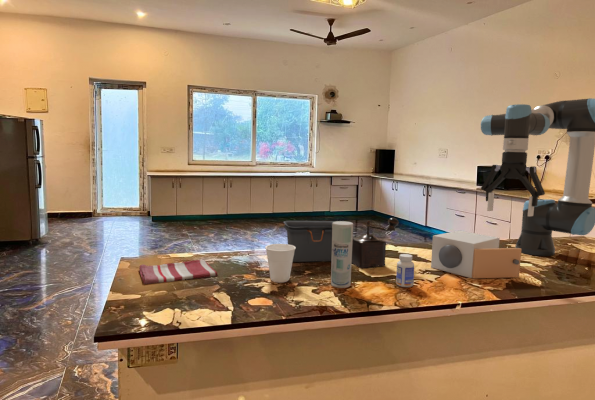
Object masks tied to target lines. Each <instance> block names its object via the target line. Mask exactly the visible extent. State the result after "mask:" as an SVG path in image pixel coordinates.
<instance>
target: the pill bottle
mask: <svg viewBox="0 0 595 400" xmlns="http://www.w3.org/2000/svg"><path fill="white" fill-rule="evenodd" d="M395 279H396V281H395V282H396V285H397V286H399V287H402V288H411V287H413V286H414V284H415V283H414V282H415V263H414V262H413V255H412V254H409V253H400V254H399V261H397V262H396V278H395Z"/></svg>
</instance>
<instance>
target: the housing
mask: <svg viewBox="0 0 595 400" xmlns="http://www.w3.org/2000/svg"><path fill="white" fill-rule="evenodd" d="M431 243H432V245H431V246H432V247H431V261H430V262H431V264H430V267H431V268H432V269H437V270H439V271H444V272H447V273H451V274H454V275H457V276H458V275H459V276H462V277H465V278H470V279H473V278H472V269H473V256H474V249H494V248H500V237H499V236H491V235H486V234H481V233H477V232H470V231H464V230H455V231H450V232H446V233H440V234H435V235H432V242H431Z"/></svg>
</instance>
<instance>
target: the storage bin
mask: <svg viewBox="0 0 595 400" xmlns="http://www.w3.org/2000/svg"><path fill="white" fill-rule="evenodd" d="M333 222H334V221H332V220H285V221H283V224H284V226H283V227H284V229H285V230H286V234H287V235H286V236H287V244H289V245H293V246H295V247H296V249H295V251H294V257H293V262H292V263H300V262H301V263H302V262H303V263H304V262H332V223H333Z"/></svg>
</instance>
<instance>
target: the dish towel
mask: <svg viewBox="0 0 595 400" xmlns="http://www.w3.org/2000/svg"><path fill="white" fill-rule="evenodd" d="M139 273H140V276H141V279H142V283H143V284H144V285H151V284H160V283H168V282H169V283H170V282H176V281H177V282H178V280H179V281H185V279H186V280H194V279H195V278H196V279H202V278H203V279H204V278H211V277H217V276H219V275H218V272H217V270H215V269H214V268H213V267H212V266H211V265H210V264H209V263H208V262H207V261H206V260H205V259H194V260H186V261H182V262H171V263H170V262H169V263H163V264H160V265H159V264H157V265H146V264H140V266H139Z"/></svg>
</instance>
